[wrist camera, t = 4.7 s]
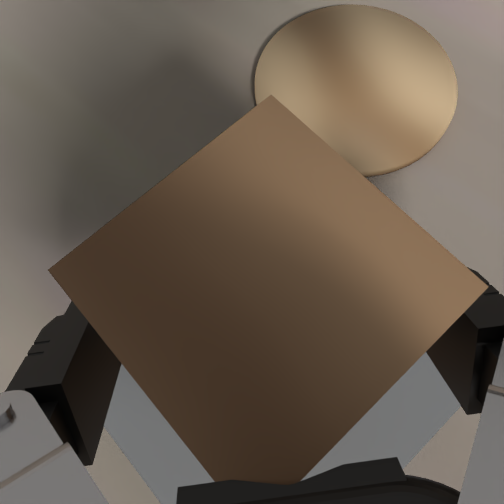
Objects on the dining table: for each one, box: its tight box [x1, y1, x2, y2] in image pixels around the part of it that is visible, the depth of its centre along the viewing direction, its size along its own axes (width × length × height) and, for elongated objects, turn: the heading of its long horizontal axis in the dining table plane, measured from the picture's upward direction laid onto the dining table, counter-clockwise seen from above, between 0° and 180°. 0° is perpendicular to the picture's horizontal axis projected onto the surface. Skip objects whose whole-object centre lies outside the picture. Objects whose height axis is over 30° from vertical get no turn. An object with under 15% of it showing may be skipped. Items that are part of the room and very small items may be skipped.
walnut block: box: [48, 95, 488, 485], centre depth 12 cm, size 5×5×10 cm
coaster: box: [255, 5, 458, 177], centre depth 21 cm, size 9×9×1 cm
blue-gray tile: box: [104, 352, 461, 504], centre depth 17 cm, size 12×12×1 cm
